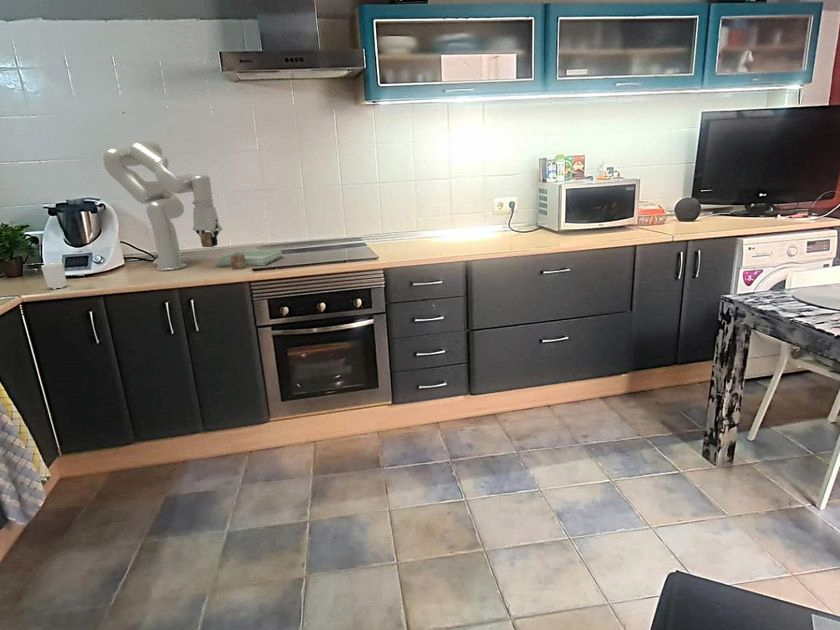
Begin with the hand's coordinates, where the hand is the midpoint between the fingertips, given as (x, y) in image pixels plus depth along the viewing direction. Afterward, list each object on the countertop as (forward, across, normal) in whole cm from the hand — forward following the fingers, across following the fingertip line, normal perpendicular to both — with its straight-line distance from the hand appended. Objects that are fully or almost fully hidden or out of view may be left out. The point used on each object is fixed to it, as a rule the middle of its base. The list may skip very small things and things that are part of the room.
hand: (209, 244), depth 257 cm
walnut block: (+1, 0, 0) cm, 1 cm away
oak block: (+11, +13, 0) cm, 17 cm away
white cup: (+13, -53, -34) cm, 64 cm away
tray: (+11, +11, +13) cm, 20 cm away
